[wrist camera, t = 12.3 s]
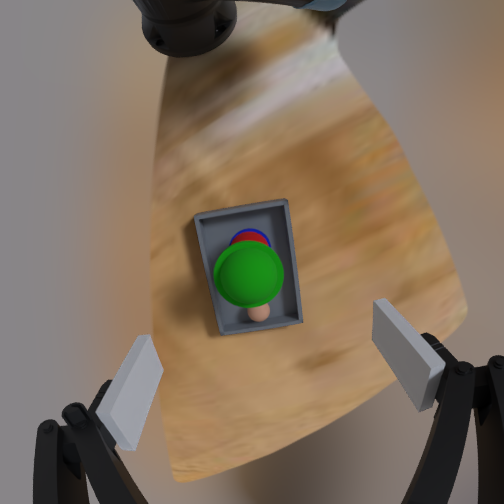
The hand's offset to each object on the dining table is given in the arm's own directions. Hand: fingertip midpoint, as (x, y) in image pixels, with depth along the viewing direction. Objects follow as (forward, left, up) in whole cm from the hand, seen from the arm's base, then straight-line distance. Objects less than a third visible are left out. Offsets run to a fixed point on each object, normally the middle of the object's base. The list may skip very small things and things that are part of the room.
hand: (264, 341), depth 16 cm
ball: (+11, -1, -29) cm, 31 cm away
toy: (+2, -1, -29) cm, 29 cm away
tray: (+5, -1, -29) cm, 30 cm away
